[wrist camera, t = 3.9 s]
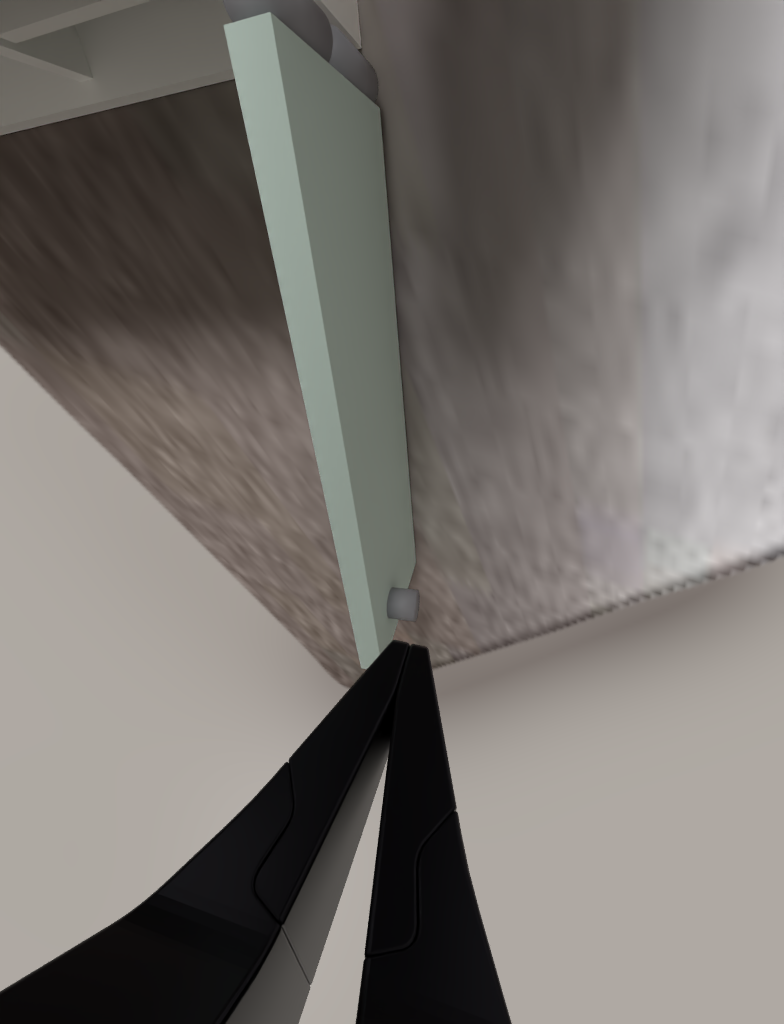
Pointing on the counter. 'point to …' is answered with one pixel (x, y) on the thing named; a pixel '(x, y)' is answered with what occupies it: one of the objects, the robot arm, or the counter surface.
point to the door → (334, 286)
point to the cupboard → (115, 53)
